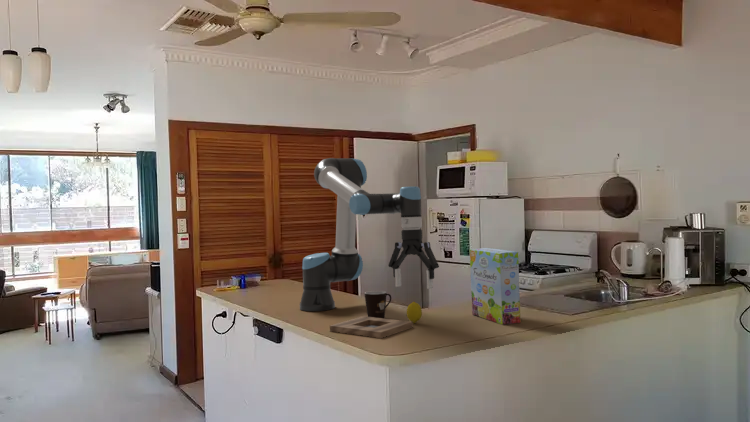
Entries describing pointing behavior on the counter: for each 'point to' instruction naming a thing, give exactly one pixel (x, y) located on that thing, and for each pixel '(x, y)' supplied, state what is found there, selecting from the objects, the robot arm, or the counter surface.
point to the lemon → (414, 312)
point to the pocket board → (371, 326)
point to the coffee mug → (376, 303)
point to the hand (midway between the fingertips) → (413, 287)
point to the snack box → (495, 285)
